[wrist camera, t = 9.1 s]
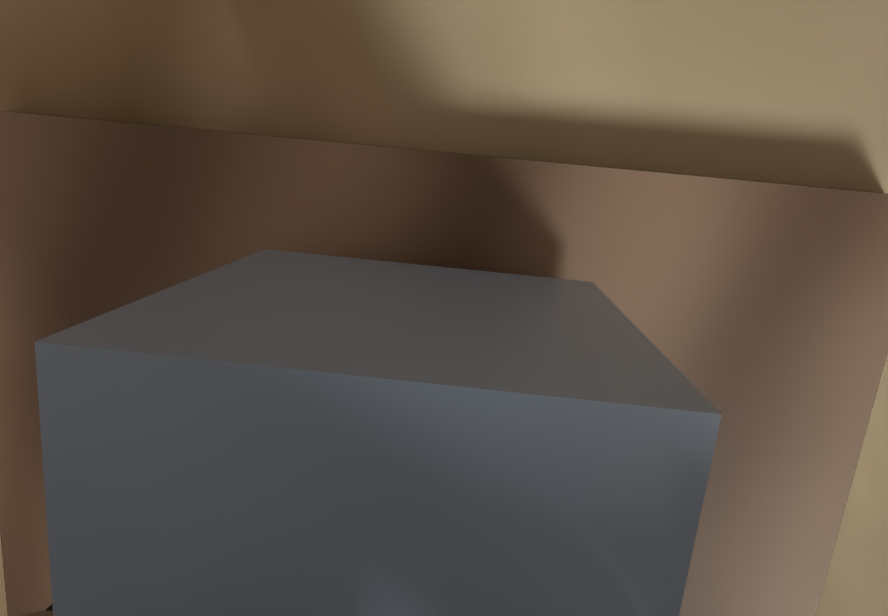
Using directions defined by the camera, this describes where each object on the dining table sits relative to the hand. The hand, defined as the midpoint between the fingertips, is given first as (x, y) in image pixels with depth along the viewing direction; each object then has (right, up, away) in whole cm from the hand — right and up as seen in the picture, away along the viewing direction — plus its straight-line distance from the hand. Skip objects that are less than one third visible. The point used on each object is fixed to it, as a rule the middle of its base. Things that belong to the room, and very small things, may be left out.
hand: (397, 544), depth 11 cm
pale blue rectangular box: (0, 0, +1) cm, 1 cm away
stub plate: (0, +1, +3) cm, 3 cm away
